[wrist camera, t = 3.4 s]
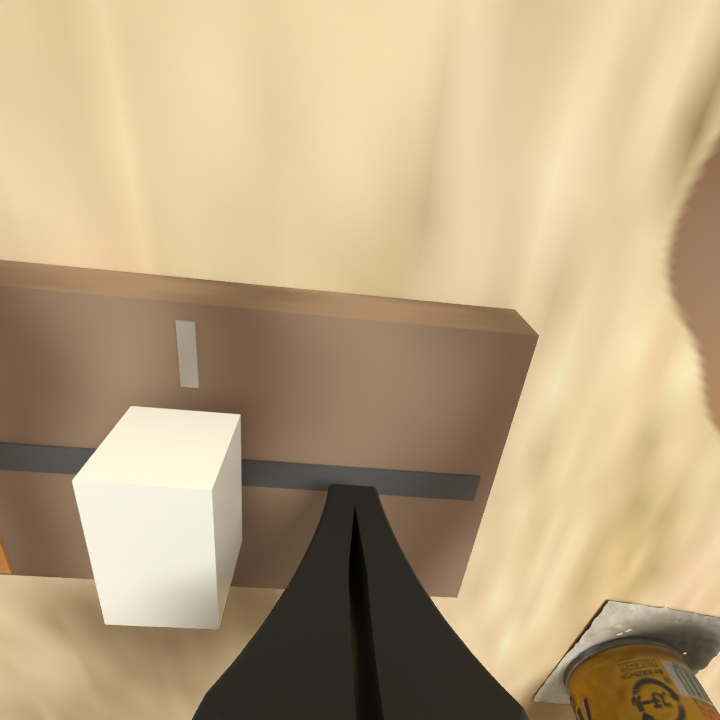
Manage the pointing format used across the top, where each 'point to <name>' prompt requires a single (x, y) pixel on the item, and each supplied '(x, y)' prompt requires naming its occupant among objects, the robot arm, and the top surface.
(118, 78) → the top surface
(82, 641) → the top surface
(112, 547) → the fader tab
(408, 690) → the robot arm
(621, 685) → the condiment
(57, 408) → the fader board
